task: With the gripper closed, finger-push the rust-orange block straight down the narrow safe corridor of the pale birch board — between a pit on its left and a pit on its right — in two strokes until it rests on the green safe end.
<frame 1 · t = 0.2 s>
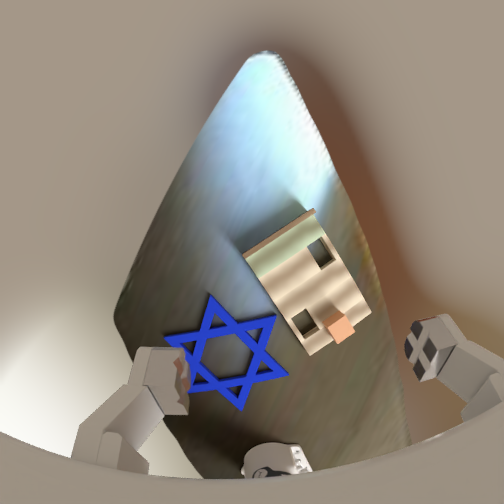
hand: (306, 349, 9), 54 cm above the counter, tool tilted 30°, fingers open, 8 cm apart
board: (309, 285, 63), on the counter
block: (335, 324, 61), point 3 cm above the counter, touching board
symbol: (227, 355, 64), on the counter
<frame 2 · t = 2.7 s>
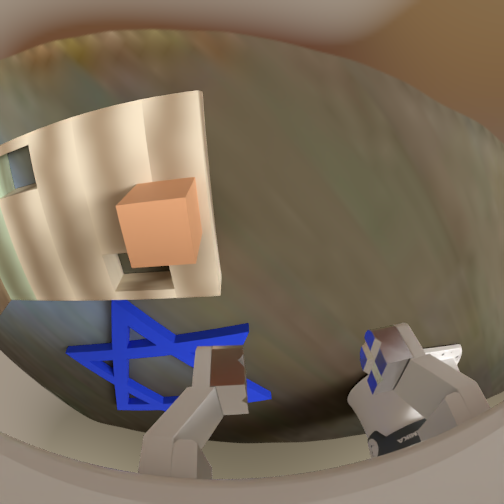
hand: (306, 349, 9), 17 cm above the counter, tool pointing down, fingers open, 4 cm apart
board: (78, 208, 24), on the counter
block: (169, 208, 21), point 3 cm above the counter, touching board
symbol: (168, 371, 37), on the counter
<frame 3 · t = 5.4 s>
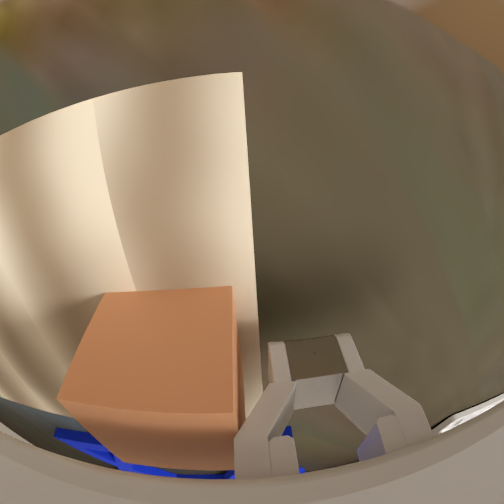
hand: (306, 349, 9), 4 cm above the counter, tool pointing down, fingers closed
board: (27, 295, 13), on the counter
block: (178, 337, 10), point 3 cm above the counter, touching board, gripper
symbol: (181, 457, 26), on the counter
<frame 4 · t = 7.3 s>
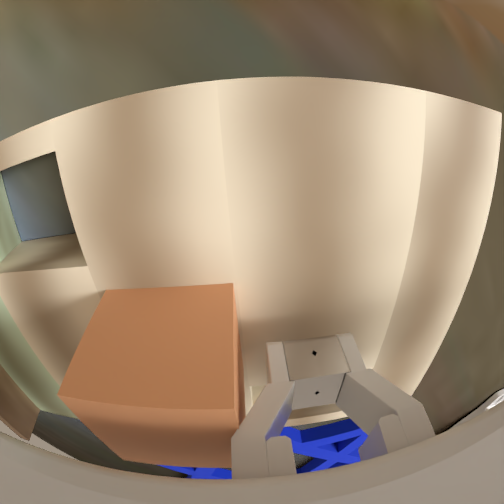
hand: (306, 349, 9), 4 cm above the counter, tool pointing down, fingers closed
board: (176, 292, 13), on the counter
block: (179, 334, 10), point 3 cm above the counter, touching board, gripper
symbol: (266, 456, 26), on the counter
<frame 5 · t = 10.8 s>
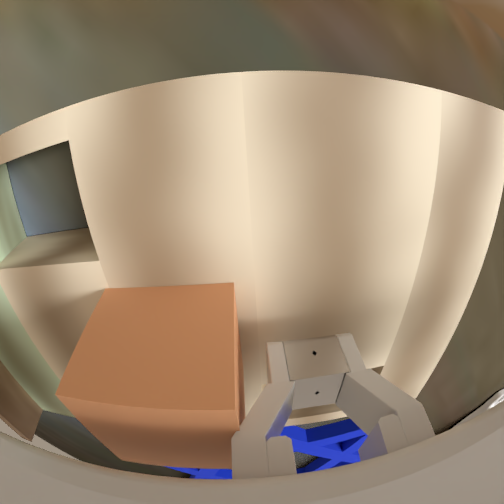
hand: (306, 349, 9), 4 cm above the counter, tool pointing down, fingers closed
board: (187, 288, 13), on the counter
block: (178, 334, 10), point 3 cm above the counter, touching gripper
symbol: (270, 455, 26), on the counter
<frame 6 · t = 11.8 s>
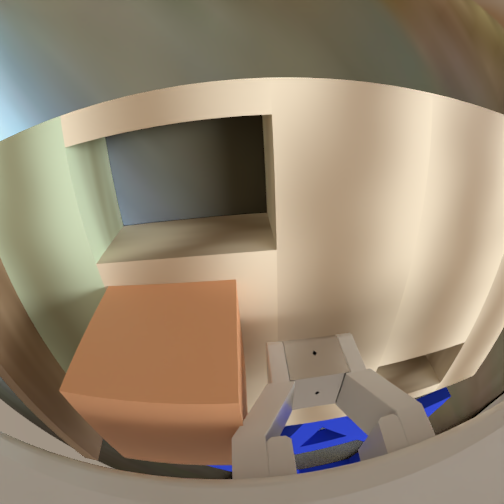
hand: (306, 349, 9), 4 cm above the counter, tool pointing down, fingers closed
board: (312, 280, 13), on the counter
block: (181, 331, 10), point 3 cm above the counter, touching gripper
symbol: (322, 448, 26), on the counter
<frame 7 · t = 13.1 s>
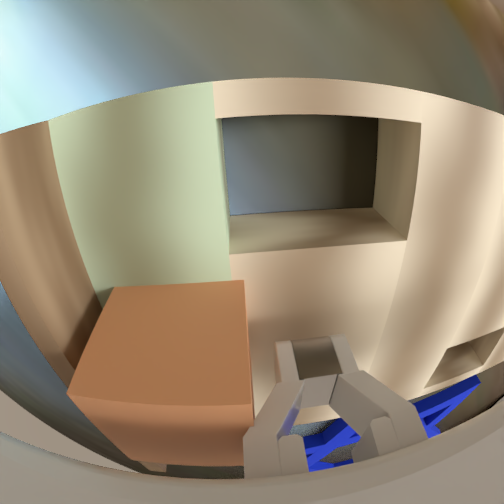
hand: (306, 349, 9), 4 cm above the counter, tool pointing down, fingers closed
board: (397, 271, 13), on the counter
block: (187, 332, 10), point 3 cm above the counter, touching board, gripper
symbol: (359, 440, 26), on the counter
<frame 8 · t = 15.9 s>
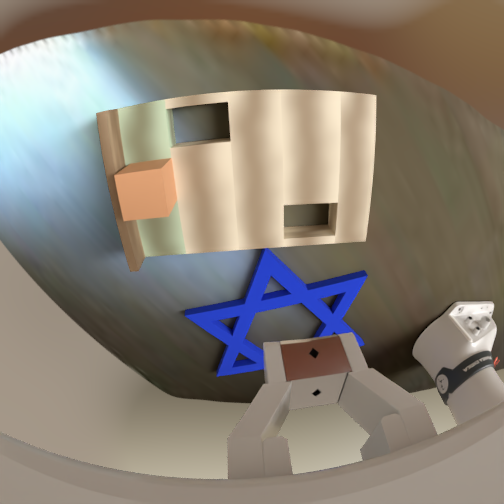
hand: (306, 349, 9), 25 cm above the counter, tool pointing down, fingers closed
board: (251, 167, 31), on the counter
block: (153, 181, 28), point 3 cm above the counter, touching board
symbol: (282, 325, 44), on the counter
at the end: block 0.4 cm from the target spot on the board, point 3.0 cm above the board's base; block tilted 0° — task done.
